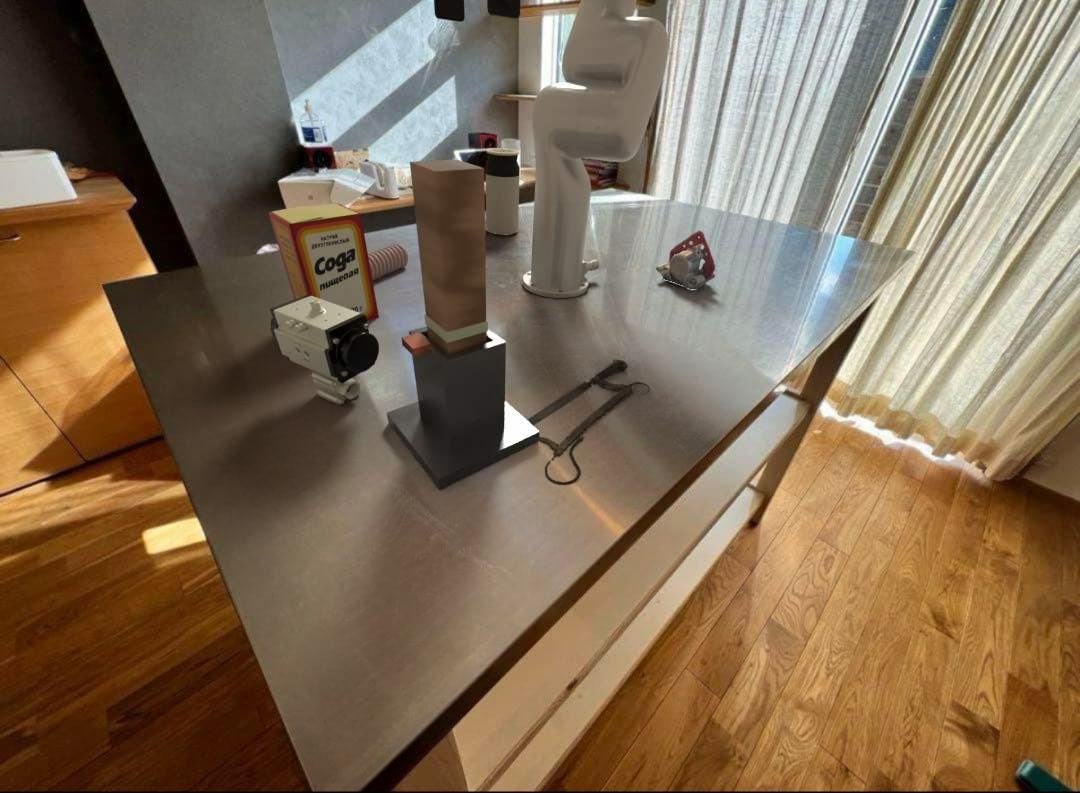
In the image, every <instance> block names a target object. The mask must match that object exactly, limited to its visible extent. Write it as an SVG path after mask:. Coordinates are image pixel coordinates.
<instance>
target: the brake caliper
mask: <svg viewBox="0 0 1080 793" xmlns="http://www.w3.org/2000/svg"><path fill="white" fill-rule="evenodd" d="M690 242H692V244H690ZM702 246H703V248H701V247H702ZM711 252H712V251H711V249H710V247H709V244H708V242H707V240H706V237H705V234H704V232H703V231H702V230H697V231H696V232H693V233H692V234H691V235H689V236H688V237H686V238H685V239H684V240H682V241H681V242H679V243H678V244H676V245H674V247H673V248H672V249H671V250H670V252H669V257H668V258H669V259H668V261H666V262H665V263H662V264H659V265H657V266H656V267H655V270H656V271H657V272H658V273H659V274H660V275H661V277H663V279H665V280H668V281H672V282H675V283H677V284H680V285H683V286H684V287H686V288H689V289H698V288H701V287H703V285H705V284H707V283H708V282H710V281H712V280H713V279H714V278H715V277H716V274H715V273H714V272H715V271H716V264H715V261H714V258H713V256H712V253H711ZM701 260H704V263H703V264H702V266H701V268H700V265H701ZM665 280H664V281H665ZM684 287H683V288H684Z"/></svg>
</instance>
